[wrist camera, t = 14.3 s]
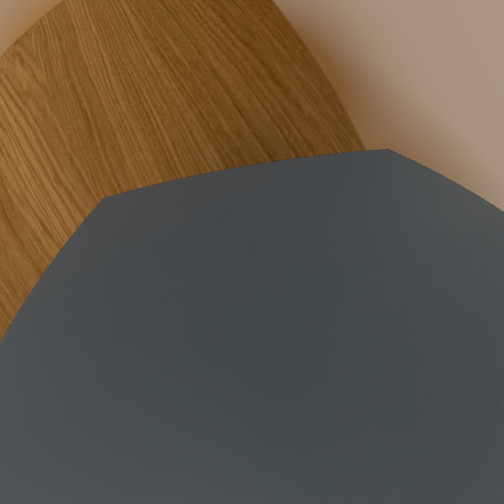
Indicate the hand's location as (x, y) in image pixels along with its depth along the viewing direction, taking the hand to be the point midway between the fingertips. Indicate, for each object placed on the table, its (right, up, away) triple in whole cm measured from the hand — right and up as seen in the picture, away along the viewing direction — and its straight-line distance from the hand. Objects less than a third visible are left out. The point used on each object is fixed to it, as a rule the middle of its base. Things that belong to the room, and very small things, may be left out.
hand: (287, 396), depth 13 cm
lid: (-1, +5, -8) cm, 10 cm away
